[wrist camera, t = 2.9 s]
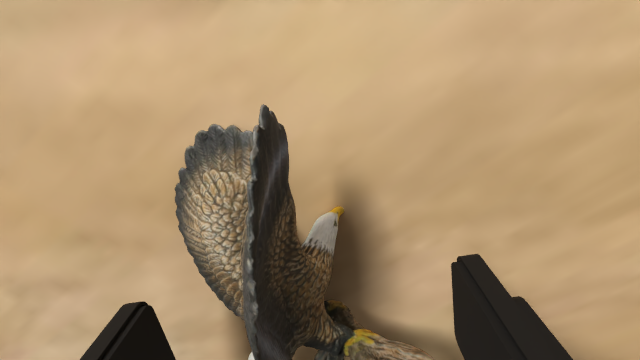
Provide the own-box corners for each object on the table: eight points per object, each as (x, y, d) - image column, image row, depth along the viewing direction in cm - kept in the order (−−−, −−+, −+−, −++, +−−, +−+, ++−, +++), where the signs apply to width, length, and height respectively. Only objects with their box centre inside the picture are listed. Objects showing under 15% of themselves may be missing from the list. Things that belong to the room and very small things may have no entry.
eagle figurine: (468, 259, 12) (324, 41, 8) (433, 522, 8) (91, 329, 4) (315, 263, 17) (180, 130, 13) (243, 424, 13) (11, 297, 9)
